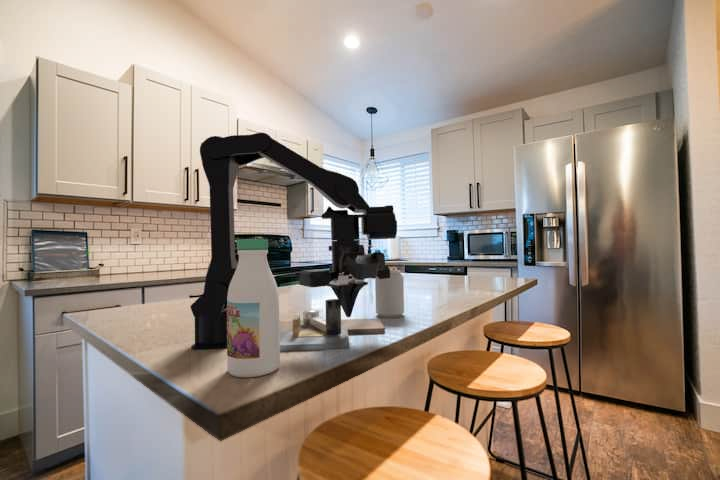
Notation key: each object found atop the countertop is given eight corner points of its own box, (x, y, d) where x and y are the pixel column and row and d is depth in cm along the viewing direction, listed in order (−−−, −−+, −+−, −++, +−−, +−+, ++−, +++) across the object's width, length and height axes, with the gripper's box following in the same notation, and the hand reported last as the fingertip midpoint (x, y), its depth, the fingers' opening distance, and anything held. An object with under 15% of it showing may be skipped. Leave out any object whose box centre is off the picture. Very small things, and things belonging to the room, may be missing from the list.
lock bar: (300, 321, 79) (300, 293, 79) (315, 319, 81) (315, 291, 81) (328, 336, 66) (327, 302, 66) (345, 333, 68) (344, 300, 68)
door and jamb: (260, 351, 62) (259, 326, 62) (278, 325, 82) (278, 306, 82) (392, 346, 64) (392, 322, 64) (378, 322, 84) (378, 303, 84)
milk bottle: (263, 357, 58) (262, 239, 59) (289, 368, 53) (288, 238, 53) (218, 370, 53) (217, 239, 53) (242, 383, 47) (241, 238, 48)
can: (403, 312, 95) (402, 269, 95) (404, 318, 88) (403, 271, 88) (376, 312, 96) (375, 269, 96) (375, 318, 88) (374, 271, 89)
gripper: (323, 241, 58) (327, 333, 58) (406, 238, 69) (409, 316, 69) (296, 242, 67) (299, 321, 68) (373, 239, 78) (375, 308, 78)
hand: (348, 317), depth 70 cm, fingers closed
